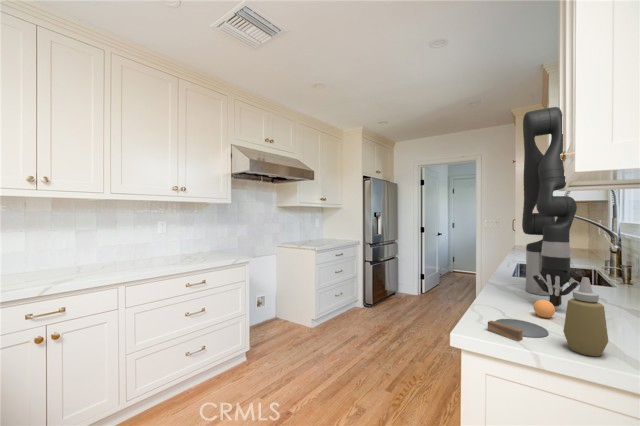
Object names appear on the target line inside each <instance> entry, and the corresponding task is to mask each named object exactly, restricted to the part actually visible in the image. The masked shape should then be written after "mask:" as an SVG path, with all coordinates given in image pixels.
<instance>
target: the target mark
mask: <svg viewBox="0 0 640 426" xmlns="http://www.w3.org/2000/svg"><path fill="white" fill-rule="evenodd" d="M494 321H495V322H498V323H501V324H504V325H507V326H511V327H514V328H517V329H520V330H523V337H524V338H533V339H534V338H535V339H541V338H546V337H548V336H549V331H548V330H547V329H546V328H544V326H541V325H538V324H535V323H534V322H533V323H532V322H530V321H525V320H521V319H516V318H515V319H513V318H499V319H496V320H494Z"/></svg>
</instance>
